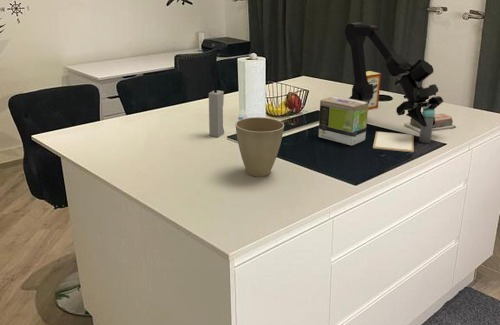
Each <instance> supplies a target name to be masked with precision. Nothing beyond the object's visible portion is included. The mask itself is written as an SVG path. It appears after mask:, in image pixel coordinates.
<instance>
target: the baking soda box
mask: <svg viewBox="0 0 500 325" xmlns="http://www.w3.org/2000/svg"><path fill="white" fill-rule="evenodd" d="M366 76H367V81H368V83H369V84H373V92H374V94H373V98H372V99H371V100H370V102H369V104H368V111H370V110H373V109H378V108H379V101H380V100H379V99H380V91H381V90H380V89H381V79H382V73H380V72H376V71H373V70H368V71H367V70H366Z"/></svg>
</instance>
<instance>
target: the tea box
mask: <svg viewBox="0 0 500 325" xmlns="http://www.w3.org/2000/svg"><path fill="white" fill-rule="evenodd" d="M349 98H350V97H342V96H338V95H337V96H336V95H333V96H329V97H327V98H323V99H320V100H319V118H318V119H319V120H318V137H319V138H322V139H324V140H325V139H326V140H329V141H333V142H336V143H341V144H343V145H349V146H354V145H356V144H359V143H361V142H363V141H365V140H366V134H367V123H368V112H369V110H368V102H365V101H359V100H354V99H349Z"/></svg>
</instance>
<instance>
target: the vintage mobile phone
mask: <svg viewBox="0 0 500 325" xmlns="http://www.w3.org/2000/svg"><path fill="white" fill-rule="evenodd" d="M213 84H214V85H213V86H214V88H213V89H214V90H212V91H210V92H208V123H209V130H208V131H209V136H210V137H212V138H213V137H214V138H220V137H221V136H223V135H224V134H225V129H224V99H225V97H224V96H225V94H224V93H225V91H224V90H219V89H218V90H217V86H218V84H217V70H216V69H214V82H213Z"/></svg>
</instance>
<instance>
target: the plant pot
mask: <svg viewBox="0 0 500 325" xmlns="http://www.w3.org/2000/svg"><path fill="white" fill-rule="evenodd" d="M234 125H235V131H236V138H237V143H238V144H237V145H238V148H239V149H238V150H239V153H240V156H241V159H242V163H243V165H244V169H245V171H246V173H247V174H248V175H249V176H252V177H266V176H268V175H270V173H271V171H272V170H273V169H272V168H273V167H274V164H275V162H276V159H277V157H278V153H279V150H280V148H281V143H282V139H283V135H284V129H285V124H284V122H282V121H281V120H278V119H274V118H269V117H261V116H260V117H258V116H256V117H253V116H252V117H247V118H242V119H239V120H238V121H236V122H235V124H234Z"/></svg>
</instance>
